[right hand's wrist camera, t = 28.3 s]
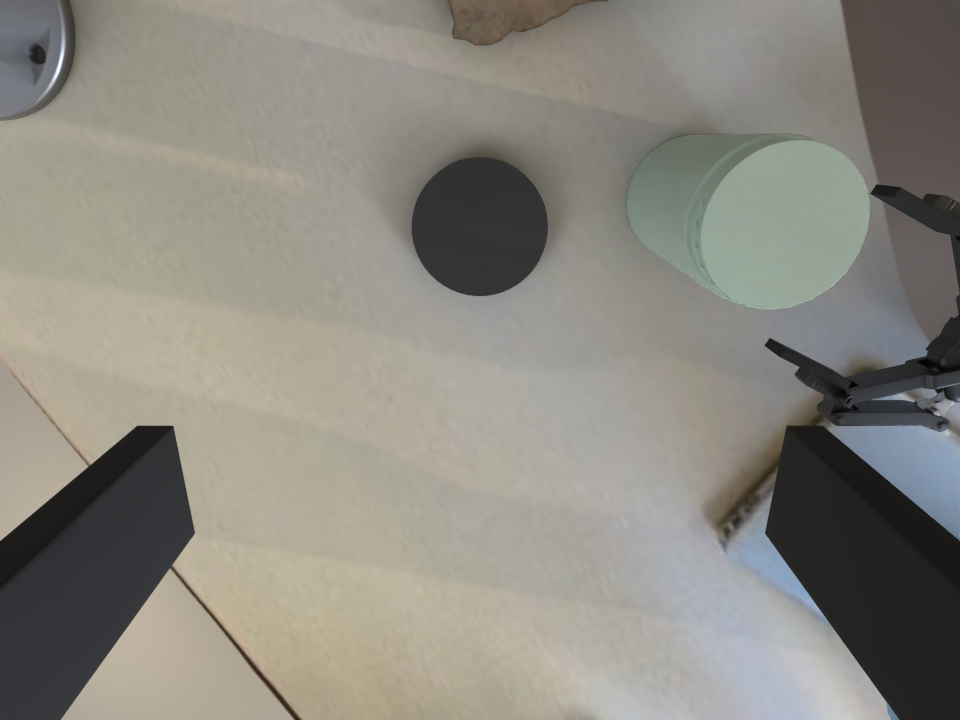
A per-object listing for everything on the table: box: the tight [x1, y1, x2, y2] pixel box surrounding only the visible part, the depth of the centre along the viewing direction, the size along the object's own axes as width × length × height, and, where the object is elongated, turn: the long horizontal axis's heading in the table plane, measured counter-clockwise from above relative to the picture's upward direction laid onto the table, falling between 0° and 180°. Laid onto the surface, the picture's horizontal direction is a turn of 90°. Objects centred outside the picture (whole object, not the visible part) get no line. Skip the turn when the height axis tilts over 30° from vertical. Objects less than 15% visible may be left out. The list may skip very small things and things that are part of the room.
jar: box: [626, 134, 870, 310], centre depth 42 cm, size 10×10×17 cm
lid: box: [412, 157, 548, 296], centre depth 50 cm, size 11×11×2 cm
